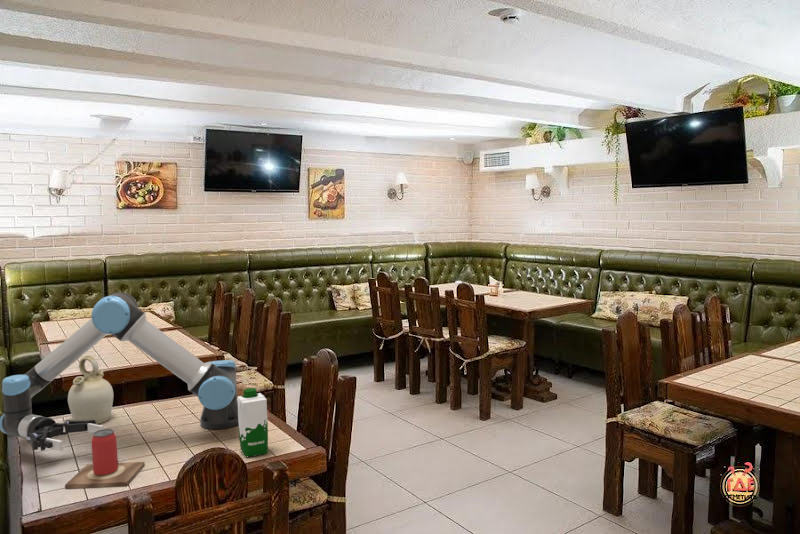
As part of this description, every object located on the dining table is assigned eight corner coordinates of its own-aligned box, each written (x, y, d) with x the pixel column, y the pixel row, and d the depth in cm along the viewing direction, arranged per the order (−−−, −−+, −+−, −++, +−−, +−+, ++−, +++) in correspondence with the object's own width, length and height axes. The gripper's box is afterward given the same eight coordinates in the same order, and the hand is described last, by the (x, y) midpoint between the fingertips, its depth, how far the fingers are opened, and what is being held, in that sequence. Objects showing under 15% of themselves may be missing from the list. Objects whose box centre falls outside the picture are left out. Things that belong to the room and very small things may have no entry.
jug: (84, 430, 216) (79, 362, 214) (60, 423, 224) (56, 357, 222) (123, 418, 229) (119, 353, 227) (99, 411, 237) (95, 349, 235)
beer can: (108, 477, 173) (105, 437, 172) (88, 475, 174) (85, 435, 173) (123, 467, 179) (120, 428, 178) (103, 466, 180) (101, 427, 179)
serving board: (144, 465, 184) (144, 460, 184) (127, 486, 170) (126, 480, 170) (87, 468, 183) (87, 463, 183) (65, 488, 169) (64, 483, 169)
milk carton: (264, 444, 199) (261, 386, 197) (271, 454, 191) (269, 393, 189) (237, 450, 195) (234, 390, 193) (243, 459, 187) (241, 397, 185)
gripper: (75, 427, 201) (119, 435, 192) (-2, 454, 179) (43, 466, 169) (73, 405, 200) (117, 413, 191) (-4, 429, 178) (41, 440, 169)
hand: (82, 438), depth 180 cm, fingers open, 13 cm apart
